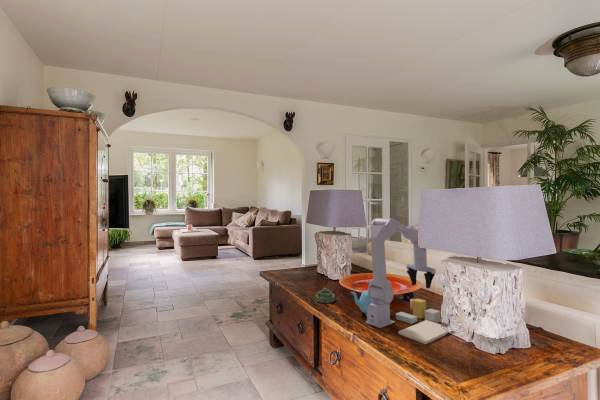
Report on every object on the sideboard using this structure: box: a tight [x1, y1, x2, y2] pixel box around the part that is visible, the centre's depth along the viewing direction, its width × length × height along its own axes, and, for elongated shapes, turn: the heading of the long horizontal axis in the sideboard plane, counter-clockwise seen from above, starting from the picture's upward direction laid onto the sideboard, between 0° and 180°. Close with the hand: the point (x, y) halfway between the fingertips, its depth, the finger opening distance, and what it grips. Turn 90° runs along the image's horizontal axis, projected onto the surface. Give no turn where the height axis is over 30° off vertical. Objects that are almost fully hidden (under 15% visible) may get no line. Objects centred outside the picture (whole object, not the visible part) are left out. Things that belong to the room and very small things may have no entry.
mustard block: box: [412, 298, 427, 319], centre depth 150 cm, size 4×4×7 cm
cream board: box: [397, 319, 448, 345], centre depth 132 cm, size 18×12×1 cm, turn 125°
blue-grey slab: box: [395, 311, 418, 325], centre depth 146 cm, size 8×4×2 cm, turn 36°
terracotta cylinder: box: [409, 298, 416, 311], centre depth 159 cm, size 5×5×4 cm
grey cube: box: [424, 308, 442, 324], centre depth 143 cm, size 4×4×4 cm
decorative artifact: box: [315, 286, 336, 304], centre depth 178 cm, size 10×7×10 cm
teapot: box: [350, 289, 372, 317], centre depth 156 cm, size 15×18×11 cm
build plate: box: [397, 291, 415, 302], centre depth 174 cm, size 12×7×5 cm, turn 35°
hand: (421, 286), depth 160 cm, fingers open, 7 cm apart
